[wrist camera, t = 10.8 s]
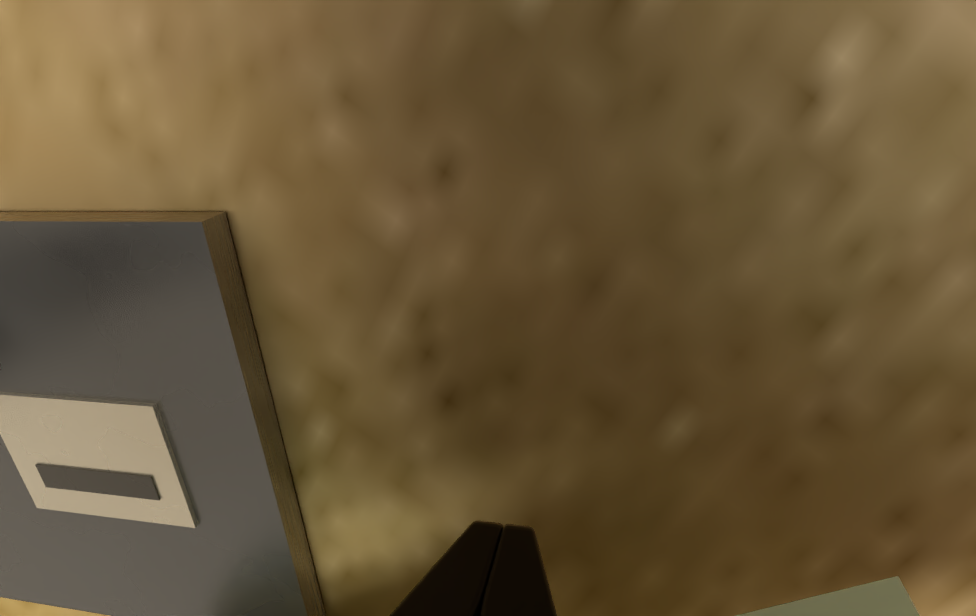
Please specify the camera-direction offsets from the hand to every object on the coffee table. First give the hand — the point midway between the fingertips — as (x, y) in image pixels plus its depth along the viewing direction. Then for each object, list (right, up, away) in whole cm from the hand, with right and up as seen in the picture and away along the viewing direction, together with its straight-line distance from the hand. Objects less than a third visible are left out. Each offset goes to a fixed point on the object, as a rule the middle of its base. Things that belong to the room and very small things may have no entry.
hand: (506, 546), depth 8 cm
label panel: (-12, -2, +6) cm, 14 cm away
